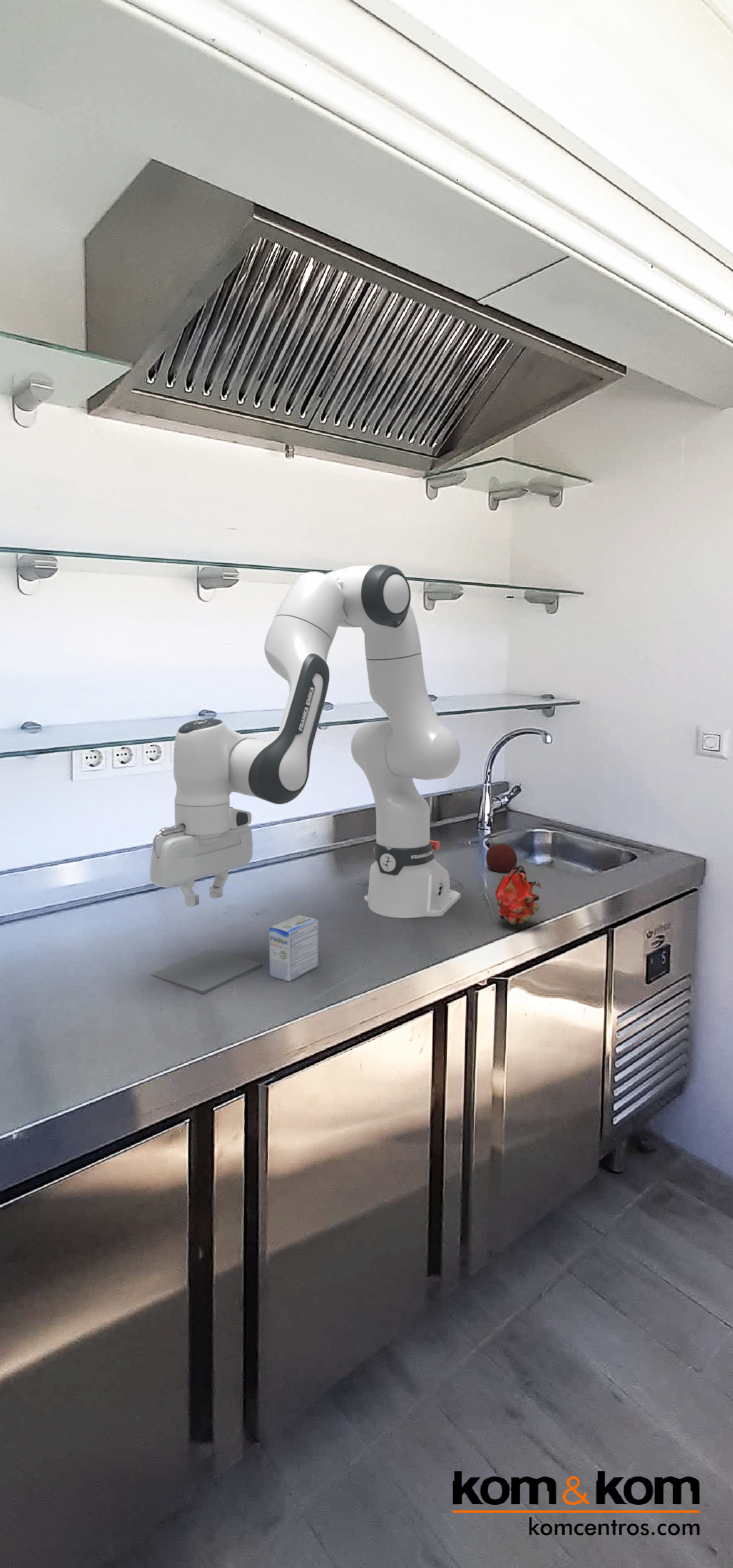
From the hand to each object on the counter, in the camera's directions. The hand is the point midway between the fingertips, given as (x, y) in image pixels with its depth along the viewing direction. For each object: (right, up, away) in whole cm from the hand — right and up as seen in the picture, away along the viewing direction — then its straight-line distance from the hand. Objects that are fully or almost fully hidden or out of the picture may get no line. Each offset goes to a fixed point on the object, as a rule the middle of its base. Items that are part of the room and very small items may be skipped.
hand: (204, 901), depth 137 cm
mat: (0, -12, +2) cm, 12 cm away
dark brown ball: (+60, -2, +65) cm, 88 cm away
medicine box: (+15, -12, +2) cm, 19 cm away
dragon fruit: (+56, -9, +26) cm, 63 cm away
